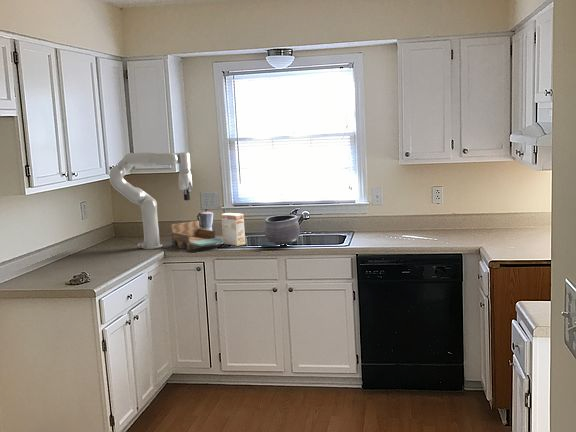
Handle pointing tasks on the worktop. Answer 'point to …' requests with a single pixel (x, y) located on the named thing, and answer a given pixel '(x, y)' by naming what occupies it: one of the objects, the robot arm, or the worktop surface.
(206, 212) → the moka pot
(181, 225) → the shelf
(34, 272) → the worktop surface
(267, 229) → the tea bowl
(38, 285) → the worktop surface
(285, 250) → the worktop surface
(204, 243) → the tailgate
